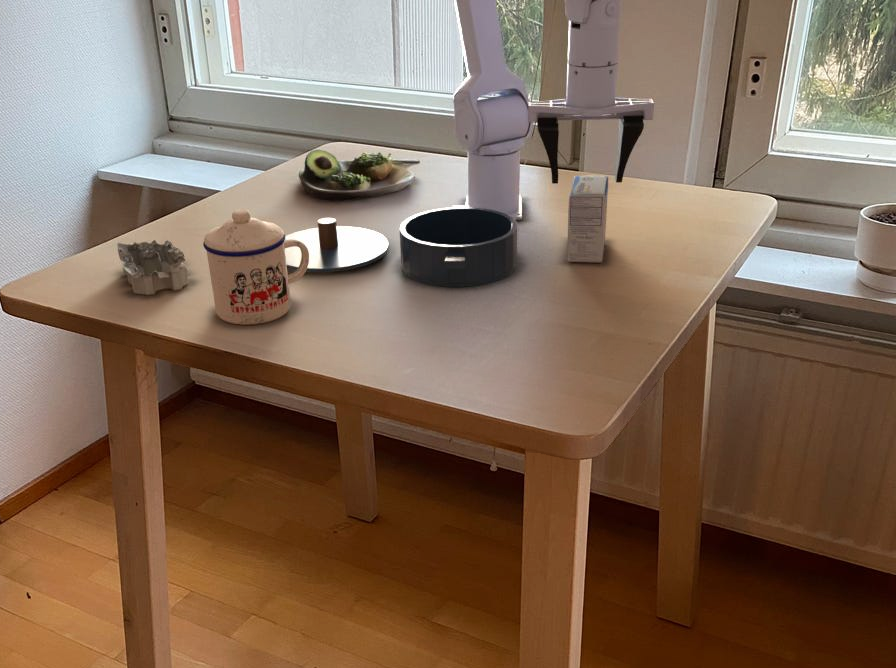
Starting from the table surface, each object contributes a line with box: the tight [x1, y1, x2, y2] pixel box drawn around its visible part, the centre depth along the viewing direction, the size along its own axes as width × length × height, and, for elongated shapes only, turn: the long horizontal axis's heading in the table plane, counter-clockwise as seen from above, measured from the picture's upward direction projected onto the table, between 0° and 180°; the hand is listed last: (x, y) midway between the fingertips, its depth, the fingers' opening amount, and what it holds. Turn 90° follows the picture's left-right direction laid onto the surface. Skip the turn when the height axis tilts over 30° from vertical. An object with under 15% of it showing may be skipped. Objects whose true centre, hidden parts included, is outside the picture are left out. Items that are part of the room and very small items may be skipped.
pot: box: [399, 205, 518, 288], centre depth 125 cm, size 14×20×5 cm
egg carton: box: [116, 239, 189, 296], centre depth 125 cm, size 11×8×4 cm
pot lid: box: [285, 217, 390, 273], centre depth 130 cm, size 15×15×4 cm
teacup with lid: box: [202, 209, 309, 326], centre depth 114 cm, size 12×9×12 cm
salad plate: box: [298, 149, 421, 202], centre depth 155 cm, size 19×18×5 cm
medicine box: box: [566, 174, 609, 264], centre depth 126 cm, size 8×4×9 cm, turn 168°
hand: (586, 180), depth 123 cm, fingers open, 7 cm apart
